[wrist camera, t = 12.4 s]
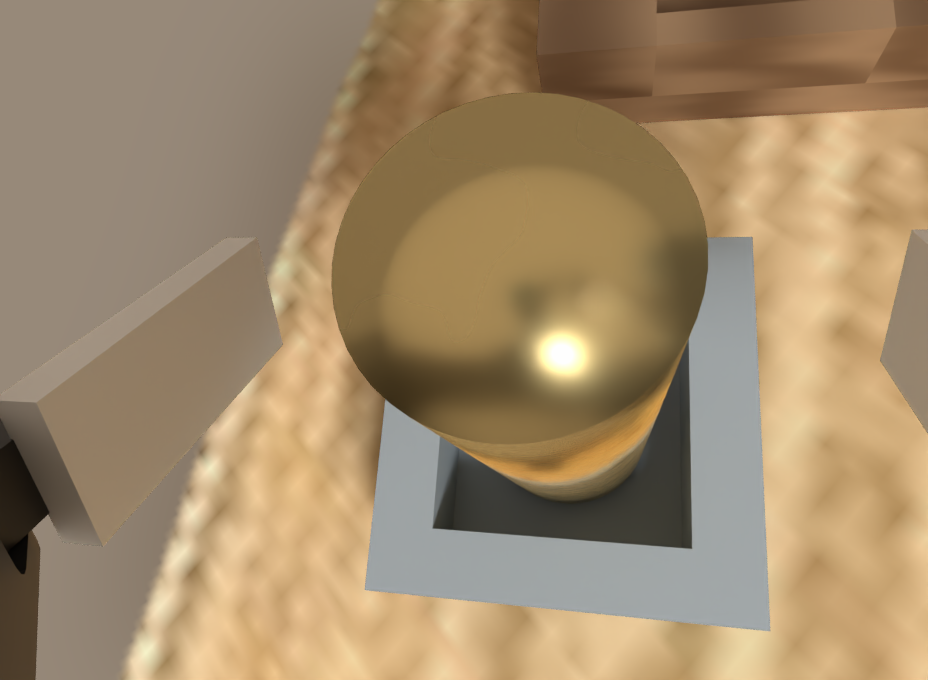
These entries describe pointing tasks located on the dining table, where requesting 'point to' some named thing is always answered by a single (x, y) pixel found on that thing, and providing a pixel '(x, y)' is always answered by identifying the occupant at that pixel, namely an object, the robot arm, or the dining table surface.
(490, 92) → the dining table surface
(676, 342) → the axle
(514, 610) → the dining table surface
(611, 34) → the brown wooden holder
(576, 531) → the blue-grey square socket
